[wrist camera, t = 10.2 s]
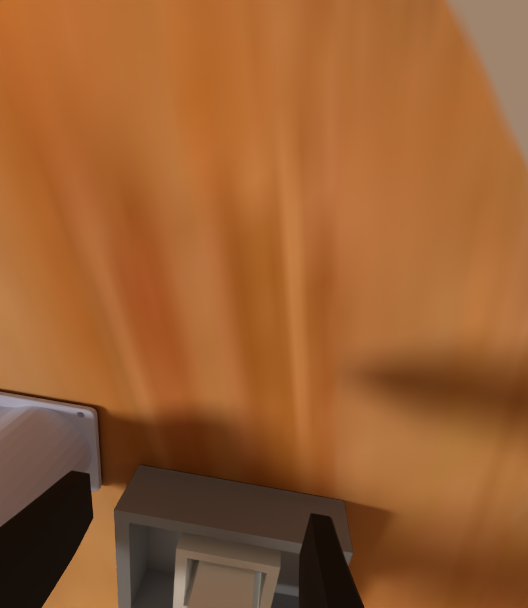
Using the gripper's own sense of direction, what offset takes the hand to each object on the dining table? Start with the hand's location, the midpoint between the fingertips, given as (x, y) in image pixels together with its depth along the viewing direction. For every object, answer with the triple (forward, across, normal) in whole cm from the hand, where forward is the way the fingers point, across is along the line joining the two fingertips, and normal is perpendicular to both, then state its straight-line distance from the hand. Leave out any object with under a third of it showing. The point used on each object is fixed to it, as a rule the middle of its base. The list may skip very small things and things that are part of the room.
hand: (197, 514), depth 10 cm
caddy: (+10, -1, +17) cm, 20 cm away
